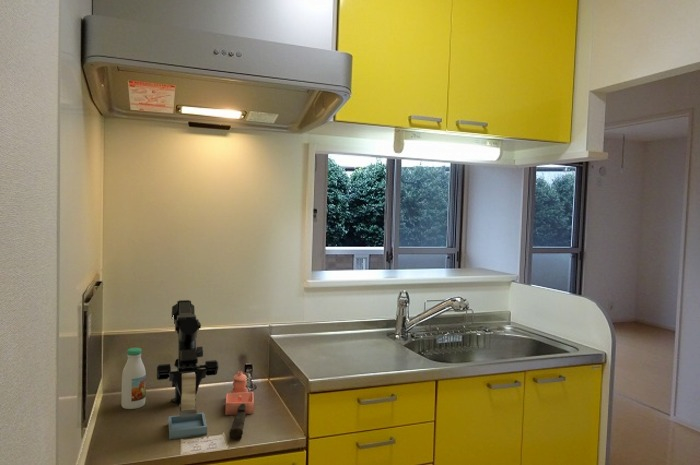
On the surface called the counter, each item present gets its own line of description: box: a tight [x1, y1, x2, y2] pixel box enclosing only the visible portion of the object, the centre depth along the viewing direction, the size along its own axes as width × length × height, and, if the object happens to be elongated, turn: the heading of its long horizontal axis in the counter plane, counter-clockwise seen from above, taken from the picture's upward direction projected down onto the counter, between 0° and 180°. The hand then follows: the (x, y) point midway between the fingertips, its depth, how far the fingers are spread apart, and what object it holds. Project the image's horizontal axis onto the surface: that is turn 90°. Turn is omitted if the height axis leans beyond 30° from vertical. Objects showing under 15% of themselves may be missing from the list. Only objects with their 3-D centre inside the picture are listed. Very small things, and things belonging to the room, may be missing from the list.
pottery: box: [224, 371, 255, 416], centre depth 174 cm, size 18×10×10 cm, turn 13°
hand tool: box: [228, 404, 247, 441], centre depth 156 cm, size 19×4×5 cm, turn 4°
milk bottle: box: [120, 347, 147, 410], centre depth 169 cm, size 8×8×20 cm
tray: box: [167, 412, 208, 440], centre depth 153 cm, size 11×11×2 cm
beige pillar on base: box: [178, 372, 198, 418], centre depth 152 cm, size 5×5×12 cm
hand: (188, 395), depth 151 cm, fingers closed on beige pillar on base, 4 cm apart
